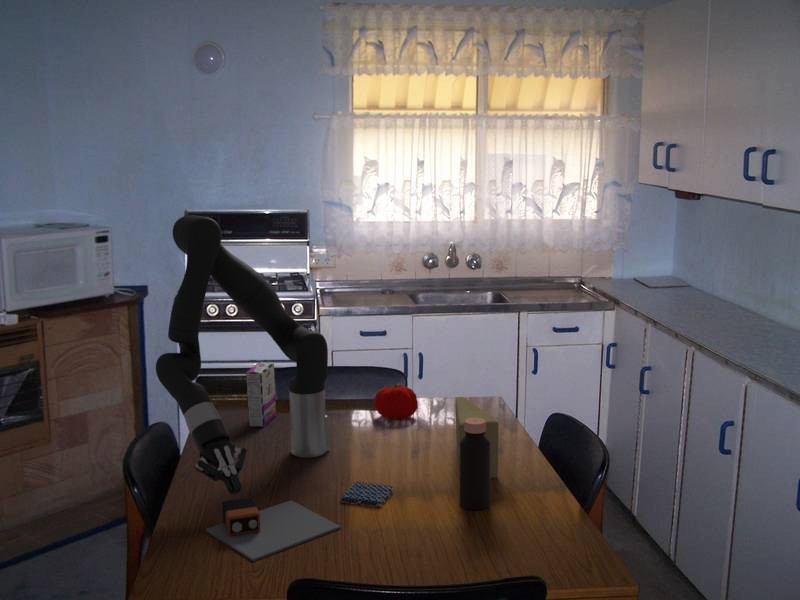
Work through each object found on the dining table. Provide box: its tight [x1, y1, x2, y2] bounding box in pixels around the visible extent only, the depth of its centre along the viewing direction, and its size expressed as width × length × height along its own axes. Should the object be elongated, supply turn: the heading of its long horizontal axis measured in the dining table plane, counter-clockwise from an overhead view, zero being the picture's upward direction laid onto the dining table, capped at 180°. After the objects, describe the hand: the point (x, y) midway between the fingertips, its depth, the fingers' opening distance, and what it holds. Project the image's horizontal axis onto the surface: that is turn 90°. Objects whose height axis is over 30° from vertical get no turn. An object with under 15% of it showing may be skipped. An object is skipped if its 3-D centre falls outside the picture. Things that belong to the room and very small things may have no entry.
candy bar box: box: [245, 361, 278, 428], centre depth 263 cm, size 11×5×16 cm, turn 168°
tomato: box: [373, 383, 419, 420], centre depth 266 cm, size 11×13×10 cm
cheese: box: [455, 396, 500, 479], centre depth 229 cm, size 22×10×15 cm, turn 9°
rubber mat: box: [205, 499, 341, 562], centre depth 194 cm, size 22×18×1 cm
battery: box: [221, 497, 260, 536], centre depth 194 cm, size 4×7×10 cm
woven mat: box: [339, 480, 395, 508], centre depth 211 cm, size 10×11×2 cm
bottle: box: [459, 417, 491, 511], centre depth 204 cm, size 7×7×20 cm
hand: (237, 492), depth 200 cm, fingers closed
